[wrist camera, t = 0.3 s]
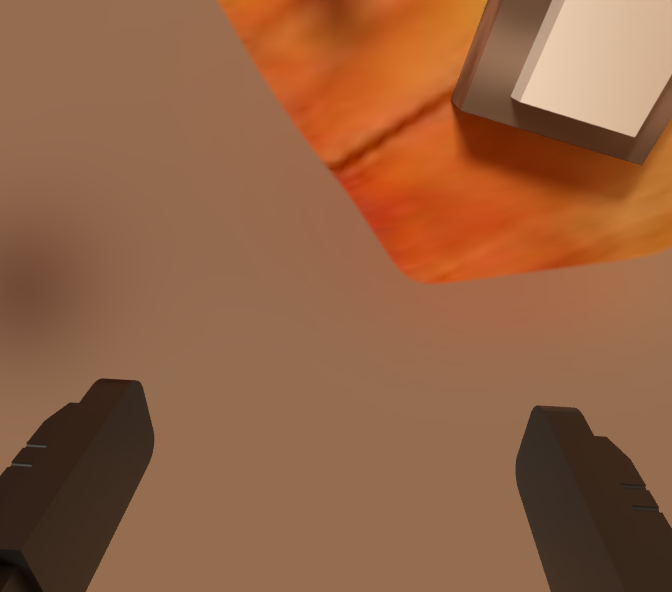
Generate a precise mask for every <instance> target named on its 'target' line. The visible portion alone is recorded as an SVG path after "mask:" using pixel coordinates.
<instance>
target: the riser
mask: <svg viewBox="0 0 672 592" xmlns="http://www.w3.org/2000/svg"><path fill="white" fill-rule="evenodd" d="M551 2H552V0H488V1H487V4H486V7H485V9H484V12H483V15H482V17H481V20H480V23H479V26H478V28H477V31H476V34H475V36H474V39H473V42H472V44H471V47H470V50H469V53H468V55H467V58H466V61H465V63H464V66H463V69H462V71H461V74H460V77H459V79H458V82H457V85H456V88H455V90H454V93H453V96H452V98H451V101H452V102H453V103H454V104H455V105H456V106H457V107H458V108H459V109H460V110H461V111H464V112H467V113H470V114H474V115H477V116H480V117H483V118H487V119H490V120H493V121H497V122H500V123H503V124H507V125H510V126H513V127H516V128H520V129H523V130H526V131H530V132H533V133H536V134H540V135H543V136H546V137H549V138H553V139H556V140H559V141H563V142H566V143H569V144H573V145H576V146H579V147H582V148H586V149H589V150H592V151H596V152H599V153H602V154H606V155H609V156H612V157H615V158H619V159H622V160H625V161H629V162H632V163H635V164H639V165H642V164H643V163H644V161H645V159H646V158H647V156H648V155H649V153H650V151H651V150H652V148H653V146H654V145H655V143H656V141H657V140H658V138H659V137H660V135H661V133H662V132H663V130H664V128H665V127H666V125H667V124H668V122H669V120H670V119H671V117H672V75H671V77H670V78H669V80H668V82H667V84H666V85H665V87H664V89H663V90H662V92H661V94H660V96H659V97H658V99H657V101H656V102H655V104H654V106H653V107H652V109H651V111H650V113H649V114H648V116H647V118H646V119H645V121H644V123H643V124H642V126H641V128H640V130H639V131H638V133H637V135H636V136H635V137H632V136H629V135H625V134H622V133H619V132H616V131H613V130H609V129H606V128H603V127H600V126H596V125H593V124H590V123H587V122H583V121H580V120H577V119H574V118H570V117H567V116H564V115H561V114H557V113H554V112H551V111H548V110H544V109H541V108H538V107H535V106H531V105H528V104H525V103H522V102H519V101H517V100H516V99H514V98H512V97H511V94H512V92H513V90H514V88H515V85H516V83H517V81H518V78H519V76H520V74H521V71H522V69H523V67H524V64H525V62H526V60H527V57H528V55H529V53H530V50H531V48H532V46H533V44H534V41H535V39H536V37H537V34H538V32H539V30H540V27H541V25H542V23H543V20H544V18H545V16H546V13H547V11H548V9H549V6H550V4H551Z"/></svg>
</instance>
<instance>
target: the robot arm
mask: <svg viewBox="0 0 672 592" xmlns="http://www.w3.org/2000/svg"><path fill="white" fill-rule="evenodd" d="M153 447H154V431H153V427H152V423H151V419H150V415H149V411H148V406H147V402H146V398H145V394H144V390H143V387H142V385H141V383H140V382H139V381H136V380H120V379H103V378H102V379H99V380H97V381H96V382H95V383H94V384H93V385H92V386H91V388H90V389H89V390H88V392H87V393H86V394H85V396H84V397H83V398H82V400H81V401H80V403H69V404H67V405H66V406H64V407H63V408H62V409H60V410H59V411H58V412H56V413H55V414H53V415H52V416H51V417H49V418H48V419H47V420H45V421H44V422H43V423H42V425H41V426H40V427H39V429H38V430H37V431H36V432H35V433H34V435H33V436H32V437H31V438H30V440H29V441H28V442H27V446H26V448H22V450H21V451H20V452H19V453H18V455H17V456H16V457H15V458H14V459H13V461H12V464H11V466H10V467H7V468H6V470H5V471H4V472H3V473H2V474H1V476H0V592H86V590H87V588H88V586H89V584H90V582H91V580H92V578H93V576H94V574H95V572H96V570H97V568H98V566H99V564H100V562H101V559H102V558H103V555H104V553H105V551H106V549H107V547H108V545H109V543H110V541H111V539H112V537H113V535H114V533H115V531H116V529H117V527H118V525H119V523H120V521H121V519H122V517H123V515H124V513H125V511H126V509H127V507H128V505H129V503H130V501H131V499H132V497H133V495H134V493H135V490H136V489H137V487H138V484H139V482H140V481H141V479H142V477H143V475H144V472H145V470H146V468H147V466H148V464H149V462H150V459H151V456H152V453H153ZM516 481H517V486H518V490H519V493H520V496H521V500H522V503H523V506H524V509H525V512H526V515H527V518H528V522H529V525H530V528H531V530H532V534H533V537H534V540H535V543H536V546H537V550H538V553H539V556H540V559H541V562H542V565H543V568H544V572H545V575H546V578H547V581H548V584H549V587H550V590H551V592H672V528H671V527H670V525H669V524H668V522H667V520H666V518H665V517H664V515H663V513H660V512H659V509H658V508H659V507H658V505H657V503H656V502H655V500H654V498H653V496H652V495H651V493H650V492H649V490H646V488H645V486H646V485H645V483H644V481H643V480H642V478H641V477H640V475H639V473H638V471H637V470H636V468H635V466H634V465H633V463H632V461H631V460H630V459H629V458H628V457H627V456H626V455H625V454H624V453H623V452H622V451H621V450H620V449H619V448H618V447H617V446H615V444H613V443H612V442H611V441H610V440H609V439H608V438H607V437H599V436H594V435H593V433H592V431H591V429H590V427H589V425H588V424H587V422H586V420H585V418H584V416H583V415H582V413H581V412H580V411H579V410H578V409H577V408H571V407H553V406H536V407H534V408H533V410H532V412H531V415H530V418H529V421H528V424H527V427H526V430H525V433H524V436H523V439H522V442H521V446H520V449H519V452H518V455H517V459H516Z"/></svg>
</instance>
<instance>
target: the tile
mask: <svg viewBox="0 0 672 592" xmlns="http://www.w3.org/2000/svg"><path fill="white" fill-rule="evenodd" d="M671 75H672V0H552V2H551V4H550V6H549V9H548V11H547V13H546V16H545V18H544V20H543V23H542V25H541V27H540V30H539V32H538V34H537V37H536V39H535V41H534V44H533V46H532V48H531V50H530V53H529V55H528V57H527V60H526V62H525V64H524V67H523V69H522V71H521V74H520V76H519V78H518V81H517V83H516V85H515V88H514V90H513V92H512V94H511V97H512V98H514V99H516V100H517V101H519V102H522V103H525V104H528V105H531V106H535V107H538V108H541V109H544V110H548V111H551V112H554V113H557V114H561V115H564V116H567V117H570V118H574V119H577V120H580V121H583V122H587V123H590V124H593V125H596V126H600V127H603V128H606V129H609V130H613V131H616V132H619V133H622V134H625V135H629V136H632V137H635V136H636V135H637V133H638V131H639V130H640V128H641V126H642V124H643V123H644V121H645V119H646V118H647V116H648V114H649V113H650V111H651V109H652V107H653V106H654V104H655V102H656V101H657V99H658V97H659V96H660V94H661V92H662V90H663V89H664V87H665V85H666V84H667V82H668V80H669V78H670V77H671Z"/></svg>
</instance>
